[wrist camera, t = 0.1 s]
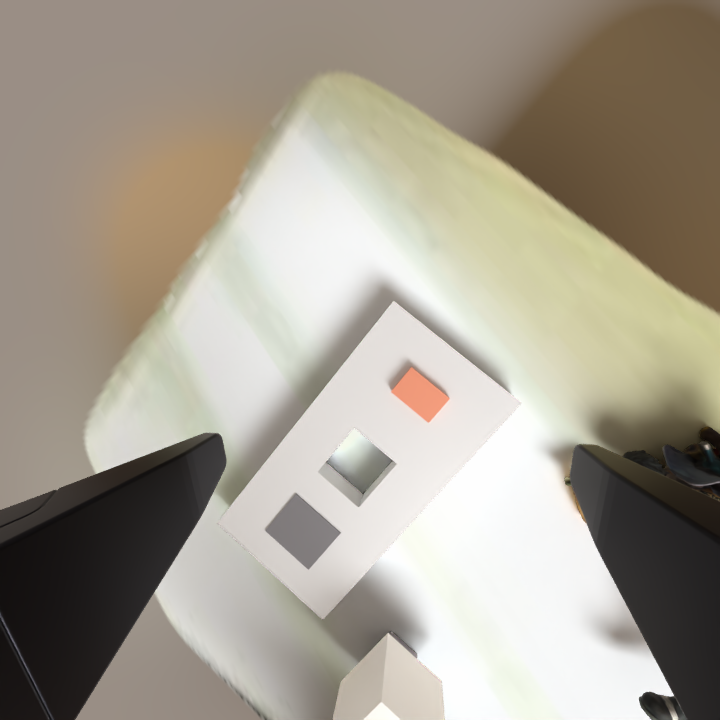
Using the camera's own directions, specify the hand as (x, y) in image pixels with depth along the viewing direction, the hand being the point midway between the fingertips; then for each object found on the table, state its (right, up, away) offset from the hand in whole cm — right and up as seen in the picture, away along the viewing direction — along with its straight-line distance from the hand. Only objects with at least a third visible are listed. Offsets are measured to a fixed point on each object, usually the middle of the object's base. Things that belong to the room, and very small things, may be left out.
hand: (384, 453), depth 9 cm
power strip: (-1, -5, +16) cm, 17 cm away
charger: (+2, -19, +17) cm, 26 cm away
